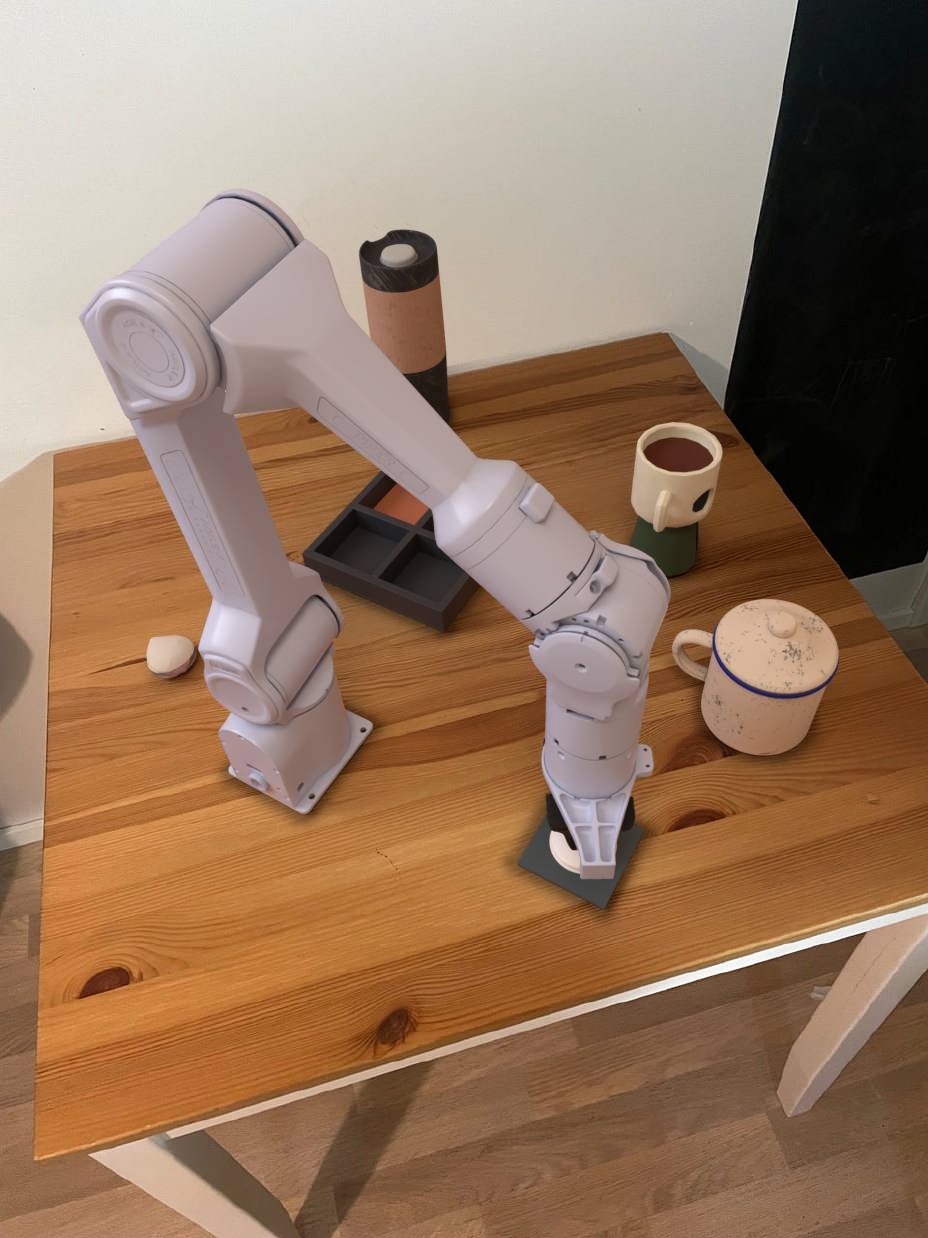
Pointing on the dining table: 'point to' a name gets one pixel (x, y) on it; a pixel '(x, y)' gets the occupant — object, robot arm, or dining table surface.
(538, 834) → the coaster
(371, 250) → the travel mug
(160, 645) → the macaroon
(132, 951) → the dining table surface
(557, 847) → the chess piece
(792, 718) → the teacup with lid
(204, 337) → the robot arm
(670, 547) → the character mug
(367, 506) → the tray
